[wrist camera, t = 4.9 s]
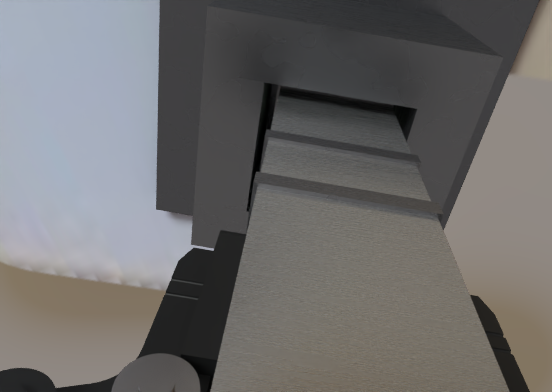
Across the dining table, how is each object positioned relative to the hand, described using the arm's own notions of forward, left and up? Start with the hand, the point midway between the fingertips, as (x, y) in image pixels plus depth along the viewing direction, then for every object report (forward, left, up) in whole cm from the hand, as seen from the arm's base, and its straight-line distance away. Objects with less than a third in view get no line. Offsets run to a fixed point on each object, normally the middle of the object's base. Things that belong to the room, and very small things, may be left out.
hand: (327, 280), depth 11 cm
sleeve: (0, 0, -14) cm, 14 cm away
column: (0, 0, -13) cm, 13 cm away
